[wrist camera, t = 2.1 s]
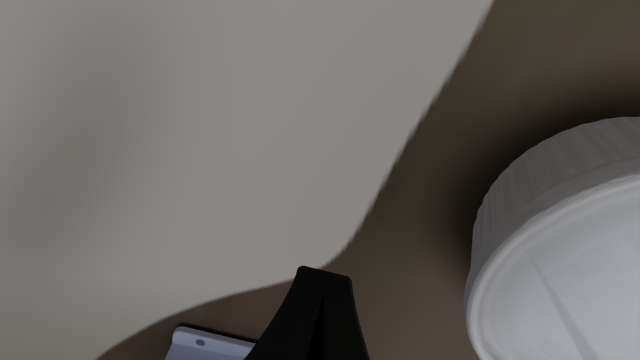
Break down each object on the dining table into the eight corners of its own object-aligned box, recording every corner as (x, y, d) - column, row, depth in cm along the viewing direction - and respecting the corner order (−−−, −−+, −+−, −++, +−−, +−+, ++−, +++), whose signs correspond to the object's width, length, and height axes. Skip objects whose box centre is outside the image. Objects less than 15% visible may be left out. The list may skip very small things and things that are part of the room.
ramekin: (403, 262, 22) (408, 362, 17) (560, 33, 16) (628, 96, 11) (616, 345, 23) (671, 457, 19) (836, 161, 17) (995, 262, 13)
